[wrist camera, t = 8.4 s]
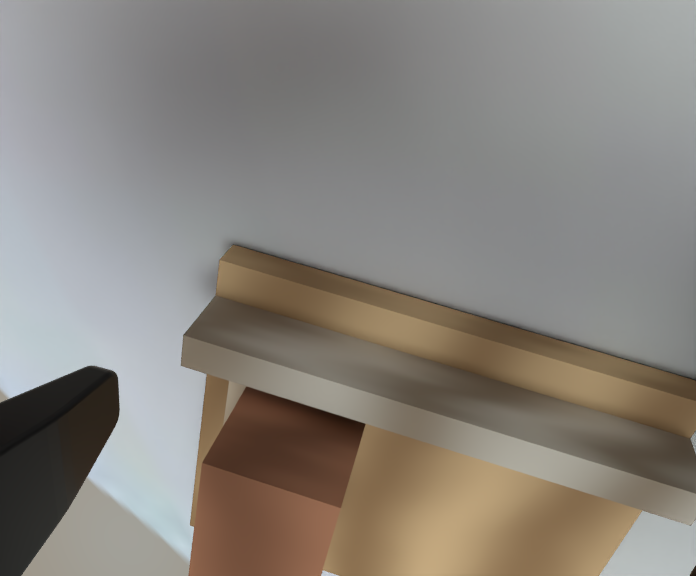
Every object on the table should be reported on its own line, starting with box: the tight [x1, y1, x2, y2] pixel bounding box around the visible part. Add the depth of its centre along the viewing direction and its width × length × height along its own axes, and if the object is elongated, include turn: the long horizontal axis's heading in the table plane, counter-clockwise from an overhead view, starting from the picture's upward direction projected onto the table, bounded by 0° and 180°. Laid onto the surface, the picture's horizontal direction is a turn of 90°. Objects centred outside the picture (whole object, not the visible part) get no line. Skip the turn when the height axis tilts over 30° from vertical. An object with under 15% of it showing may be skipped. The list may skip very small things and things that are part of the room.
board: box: [181, 245, 696, 576], centre depth 23 cm, size 16×14×4 cm
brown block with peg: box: [189, 386, 366, 576], centre depth 23 cm, size 4×11×6 cm, turn 168°
